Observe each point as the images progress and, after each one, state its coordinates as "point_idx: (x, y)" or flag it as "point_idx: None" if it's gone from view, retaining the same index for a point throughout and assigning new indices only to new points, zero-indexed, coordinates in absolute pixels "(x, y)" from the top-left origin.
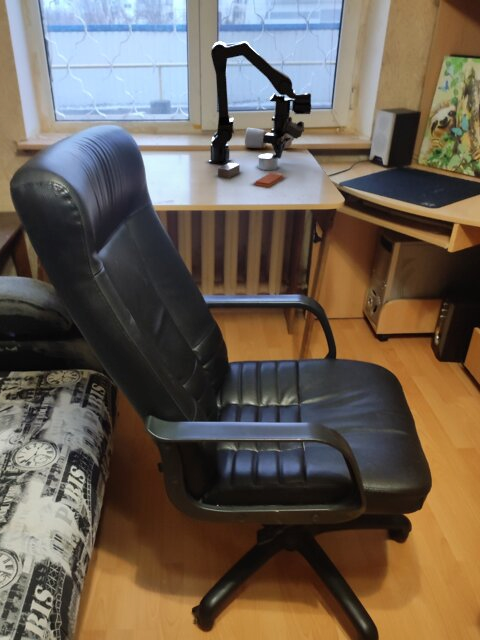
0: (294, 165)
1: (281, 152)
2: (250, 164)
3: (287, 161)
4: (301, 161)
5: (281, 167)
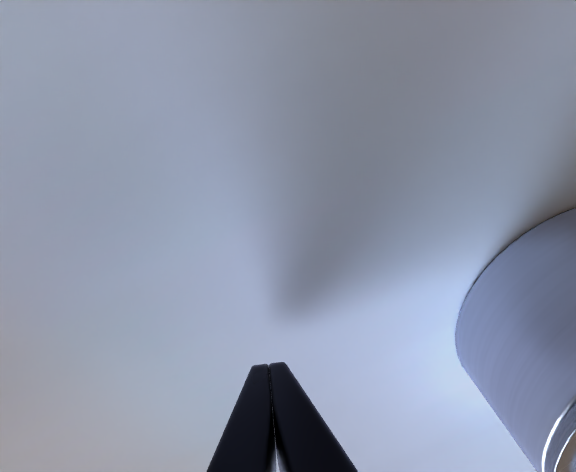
0: (341, 40)
1: (269, 435)
2: (494, 461)
3: (190, 260)
4: (4, 49)
5: (524, 177)
